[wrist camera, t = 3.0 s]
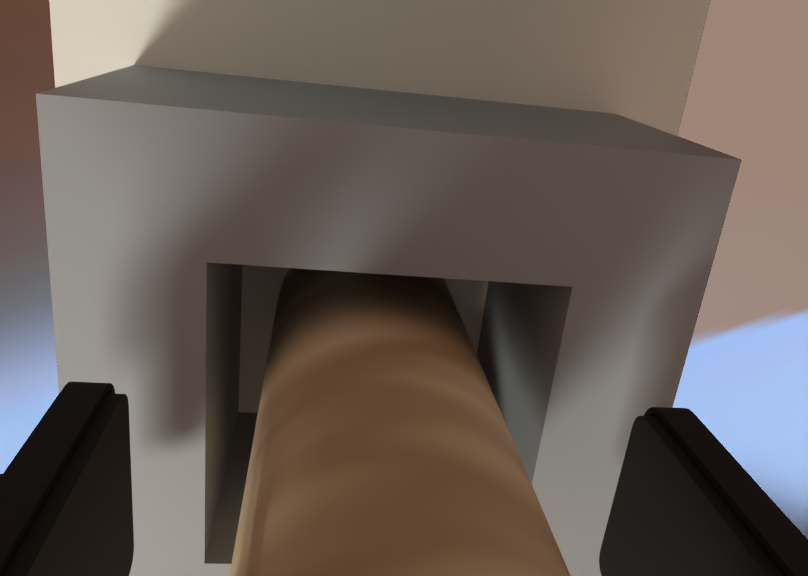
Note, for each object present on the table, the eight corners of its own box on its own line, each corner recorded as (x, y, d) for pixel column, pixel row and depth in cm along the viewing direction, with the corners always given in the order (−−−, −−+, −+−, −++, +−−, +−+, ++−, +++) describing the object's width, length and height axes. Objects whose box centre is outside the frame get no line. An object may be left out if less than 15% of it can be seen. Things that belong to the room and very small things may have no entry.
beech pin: (460, 236, 16) (696, 644, 6) (438, 391, 17) (594, 940, 7) (280, 222, 15) (185, 646, 5) (273, 384, 17) (188, 963, 7)
